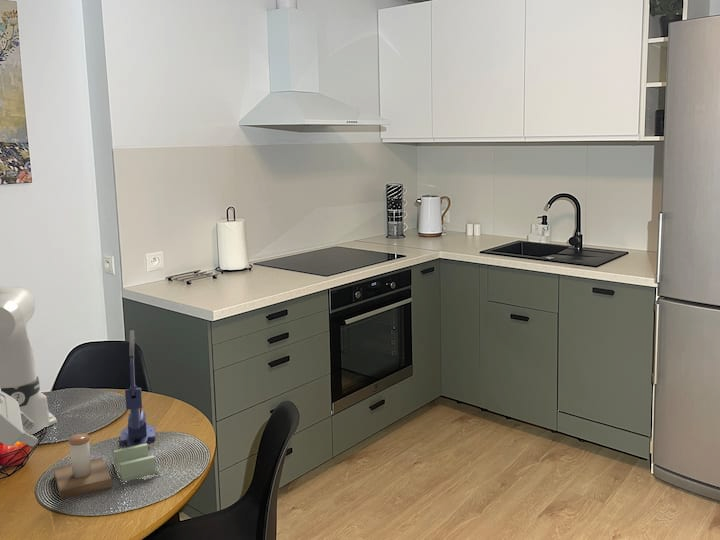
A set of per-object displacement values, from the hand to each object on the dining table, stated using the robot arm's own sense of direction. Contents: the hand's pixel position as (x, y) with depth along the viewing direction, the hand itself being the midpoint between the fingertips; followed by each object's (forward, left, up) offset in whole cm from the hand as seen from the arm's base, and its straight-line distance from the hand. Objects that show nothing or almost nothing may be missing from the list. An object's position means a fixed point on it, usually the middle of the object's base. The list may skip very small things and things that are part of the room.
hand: (33, 434), depth 152 cm
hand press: (-18, +26, -15) cm, 35 cm away
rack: (-1, +21, -15) cm, 26 cm away
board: (-1, +9, -15) cm, 18 cm away
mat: (-1, +21, -15) cm, 26 cm away
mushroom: (-1, +9, -12) cm, 16 cm away
